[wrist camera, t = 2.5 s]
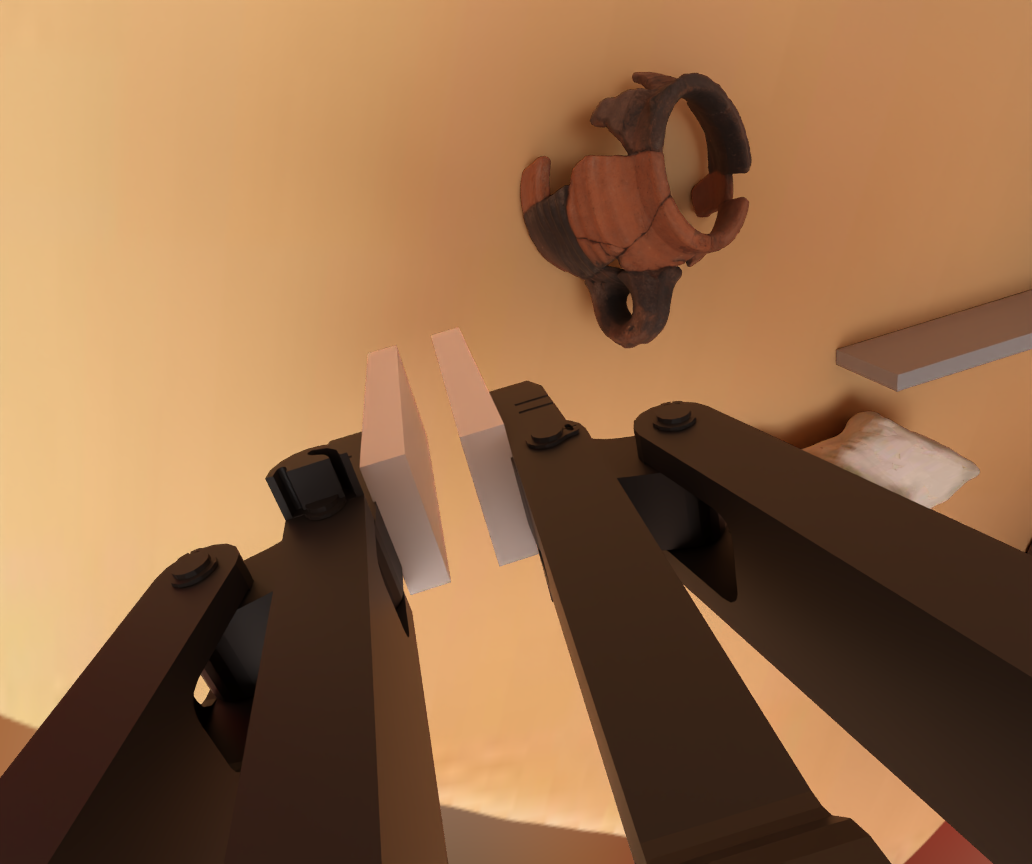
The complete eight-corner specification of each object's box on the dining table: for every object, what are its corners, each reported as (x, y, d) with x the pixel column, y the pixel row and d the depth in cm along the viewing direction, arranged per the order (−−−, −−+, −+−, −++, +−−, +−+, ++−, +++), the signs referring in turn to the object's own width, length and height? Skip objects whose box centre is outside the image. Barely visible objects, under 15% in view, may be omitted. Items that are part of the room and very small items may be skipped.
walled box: (1075, 290, 40) (1163, 307, 35) (836, 364, 38) (897, 391, 34) (1162, -199, 29) (1304, -265, 25) (837, -122, 28) (925, -177, 23)
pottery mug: (498, 104, 29) (628, 27, 23) (632, 127, 35) (767, 71, 28) (520, 357, 31) (646, 354, 25) (644, 340, 37) (773, 334, 30)
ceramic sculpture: (1015, 552, 35) (778, 665, 36) (908, 479, 43) (715, 573, 44) (995, 405, 31) (724, 540, 32) (879, 353, 38) (665, 463, 40)
